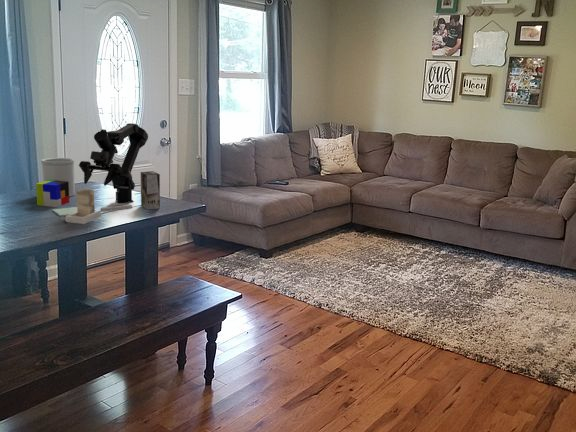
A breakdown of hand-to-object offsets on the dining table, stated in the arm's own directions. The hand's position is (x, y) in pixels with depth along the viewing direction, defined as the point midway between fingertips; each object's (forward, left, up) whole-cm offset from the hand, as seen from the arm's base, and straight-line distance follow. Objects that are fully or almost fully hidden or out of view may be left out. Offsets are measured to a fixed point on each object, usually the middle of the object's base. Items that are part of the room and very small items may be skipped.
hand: (94, 184), depth 255 cm
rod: (-11, -4, -14) cm, 18 cm away
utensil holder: (+2, -44, -13) cm, 46 cm away
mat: (+9, -8, -13) cm, 18 cm away
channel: (+7, +6, -13) cm, 16 cm away
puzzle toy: (+10, -27, -13) cm, 32 cm away
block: (+6, +5, -13) cm, 15 cm away
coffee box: (-26, -1, -13) cm, 29 cm away
